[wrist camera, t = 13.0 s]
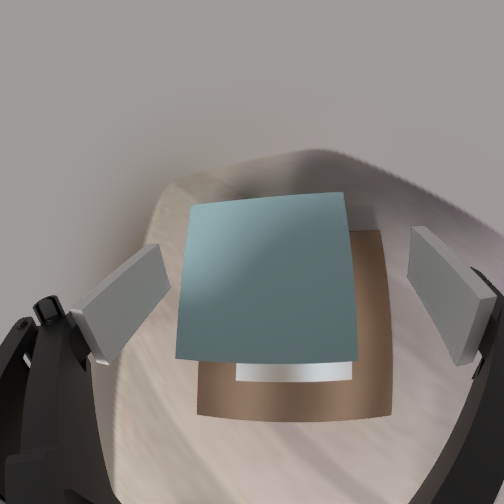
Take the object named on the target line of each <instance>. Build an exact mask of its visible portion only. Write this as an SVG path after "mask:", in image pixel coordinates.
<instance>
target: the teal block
mask: <svg viewBox="0 0 504 504" xmlns="http://www.w3.org/2000/svg"><path fill="white" fill-rule="evenodd" d="M175 358H176V359H186V360H196V361H209V362H224V363H245V364H315V363H335V362H350V361H358V337H357V313H356V297H355V284H354V272H353V262H352V253H351V244H350V236H349V228H348V221H347V214H346V207H345V201H344V195H343V192H328V193H312V194H298V195H286V196H274V197H263V198H252V199H242V200H233V201H224V202H215V203H207V204H199V205H191V211H190V218H189V225H188V232H187V239H186V247H185V255H184V264H183V272H182V282H181V292H180V302H179V314H178V326H177V340H176V357H175Z"/></svg>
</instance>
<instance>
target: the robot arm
mask: <svg viewBox="0 0 504 504" xmlns="http://www.w3.org/2000/svg"><path fill="white" fill-rule="evenodd" d="M407 278H408V279H409V281H410V282H411V284H412V286H413V287H414V289H415V291H416V292H417V294H418V296H419V297H420V299H421V301H422V302H423V304H424V306H425V307H426V309H427V311H428V313H429V314H430V316H431V318H432V320H433V322H434V324H435V325H436V327H437V329H438V331H439V333H440V335H441V337H442V339H443V341H444V343H445V344H446V346H447V348H448V350H449V353H450V355H451V357H452V359H453V361H454V363H455V365H456V366H460V365H464V364H468V363H472V362H473V360H474V358H475V356H476V353H477V351H478V349H479V351H480V353H481V355H482V359H481V361H480V363H479V365H478V367H477V369H476V371H475V373H474V375H473V377H472V379H474V381H473V383H472V386H471V389H470V392H469V394H468V397H467V399H466V402H465V404H464V407H463V409H462V411H461V414H460V416H459V418H458V421H457V423H456V425H455V427H454V429H453V431H452V433H451V435H450V437H449V439H448V441H447V443H446V445H445V447H444V449H443V451H442V452H441V454H440V456H439V458H438V459H437V461H436V463H435V465H434V466H433V468H432V469H431V471H430V473H429V474H428V476H427V477H426V479H425V481H424V482H423V484H422V485H421V487H420V488H419V489H418V491H417V492H416V494H415V495H414V497H413V498H412V499H411V501H410V502H409V503H408V504H493V503H494V501H495V499H496V497H497V494H498V492H499V490H500V488H501V485H502V483H503V480H504V296H503V295H502V294H501V293H500V292H499V291H498V290H497V288H496V287H495V286H494V285H492V283H491V282H490V281H489V280H487V278H486V277H485V276H484V275H483V274H482V273H481V272H479V271H478V270H476V269H474V268H472V267H469V266H468V265H467V264H466V263H465V262H464V261H463V260H462V259H461V258H460V257H459V256H458V255H457V254H456V253H455V252H453V251H452V250H451V249H450V248H449V247H448V246H447V245H446V244H445V243H444V242H442V241H441V240H440V239H439V238H438V237H437V236H436V235H435V234H433V233H432V232H431V231H430V230H429V229H428V228H426V227H425V226H415V227H411V243H410V255H409V265H408V274H407ZM170 288H171V287H170V283H169V280H168V276H167V273H166V269H165V266H164V262H163V258H162V254H161V251H160V247H159V244H147V245H146V246H145V247H143V248H142V249H141V250H140V251H138V252H137V253H136V254H134V255H133V256H132V257H131V258H129V259H128V260H127V261H126V262H124V263H123V264H122V265H121V266H120V267H118V268H117V269H116V270H115V271H113V272H112V273H111V274H110V275H108V276H107V277H106V278H105V279H104V280H102V281H101V282H100V283H99V284H98V285H97V286H95V287H94V288H93V289H92V290H91V291H89V292H88V293H87V294H86V295H85V296H84V297H82V298H81V299H80V300H79V301H78V302H77V303H76V304H74V305H73V306H72V307H71V308H70V310H71V311H70V312H69V313H68V314H67V315H65V313H64V310H63V309H62V306H61V304H60V302H59V299H58V297H57V296H54V295H52V296H48V297H46V298H43V299H41V300H40V301H38V302H37V303H36V304H35V305H34V307H33V309H34V311H35V314H36V316H37V318H38V320H39V321H40V323H41V326H36V324H35V322H34V320H33V318H32V317H25V318H21V319H19V320H18V321H17V323H15V325H14V326H13V327H12V329H11V330H10V332H9V333H8V335H7V336H6V338H5V339H4V341H3V342H2V344H1V345H0V504H121V503H120V501H119V500H118V499H117V498H116V496H115V495H114V493H113V491H112V488H111V485H110V481H109V478H108V474H107V470H106V466H105V461H104V457H103V452H102V448H101V443H100V437H99V432H98V427H97V420H96V413H95V405H94V397H93V388H92V376H91V363H90V361H89V359H88V357H87V356H88V355H89V354H90V352H92V354H93V356H94V358H95V359H96V361H97V362H98V363H102V364H106V365H110V364H111V363H112V361H113V360H114V359H115V358H116V356H117V355H118V354H119V352H120V351H121V350H122V348H123V347H124V346H125V344H126V343H127V342H128V341H129V339H130V338H131V337H132V335H133V334H134V333H135V332H136V330H137V329H138V328H139V327H140V325H141V324H142V323H143V322H144V320H145V319H146V318H147V316H148V315H149V314H150V313H151V311H152V310H153V309H154V308H155V307H156V305H157V304H158V303H159V302H160V300H161V299H162V298H163V297H164V295H165V294H166V293H167V292H168V291H169V289H170ZM24 354H26V356H27V358H28V359H29V361H30V362H31V366H30V368H29V367H28V366H27V364H26V362H25V361H24V359H23V356H24Z"/></svg>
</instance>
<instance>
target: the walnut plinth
mask: <svg viewBox="0 0 504 504" xmlns="http://www.w3.org/2000/svg"><path fill="white" fill-rule="evenodd" d="M349 236H350V244H351V253H352V262H353V272H354V284H355V297H356V313H357V337H358V361H350V362H335V363H315V364H245V363H224V362H209V361H199V367H198V396H197V415H204V416H211V417H219V418H228V419H238V420H251V421H268V422H326V421H343V420H356V419H365V418H374V417H382V416H389V415H391V411H392V384H393V358H392V330H391V314H390V302H389V292H388V283H387V274H386V266H385V259H384V252H383V246H382V240H381V234H380V230H367V231H349Z"/></svg>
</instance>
